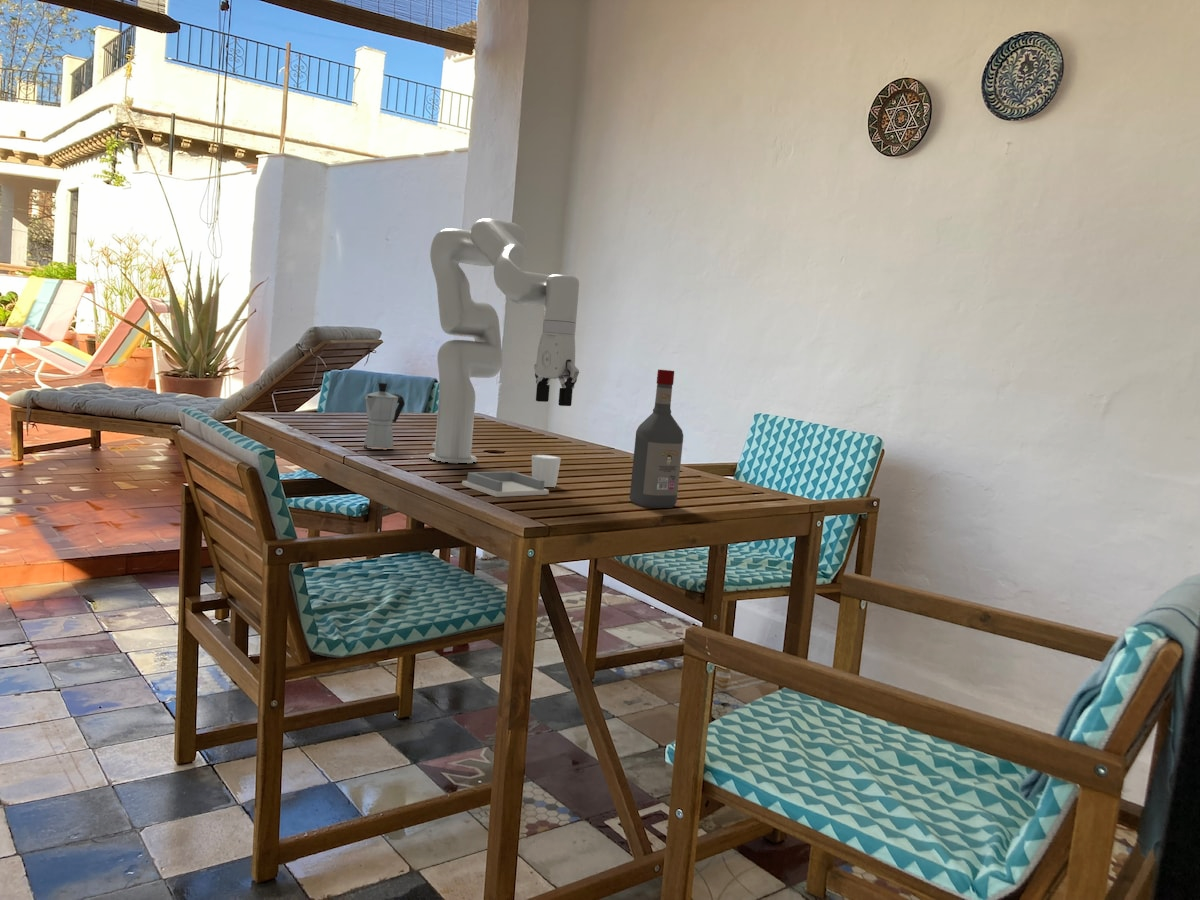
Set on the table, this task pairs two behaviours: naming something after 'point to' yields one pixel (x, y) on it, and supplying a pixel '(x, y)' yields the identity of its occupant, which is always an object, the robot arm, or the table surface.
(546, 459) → the white cup
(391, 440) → the coffee maker
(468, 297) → the robot arm
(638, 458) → the liquor
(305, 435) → the table surface
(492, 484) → the u rest
